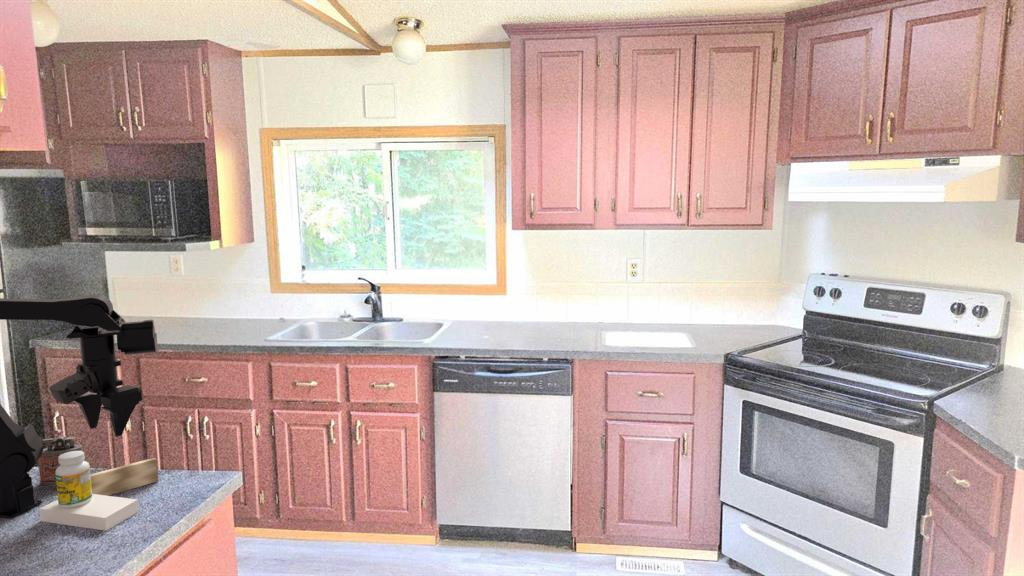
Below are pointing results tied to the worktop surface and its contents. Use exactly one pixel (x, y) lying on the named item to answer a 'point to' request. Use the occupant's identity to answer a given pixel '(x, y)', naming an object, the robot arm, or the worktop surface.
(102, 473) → the wooden board
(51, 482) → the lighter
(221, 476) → the worktop surface
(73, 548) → the worktop surface
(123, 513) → the white slab
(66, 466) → the supplement bottle
